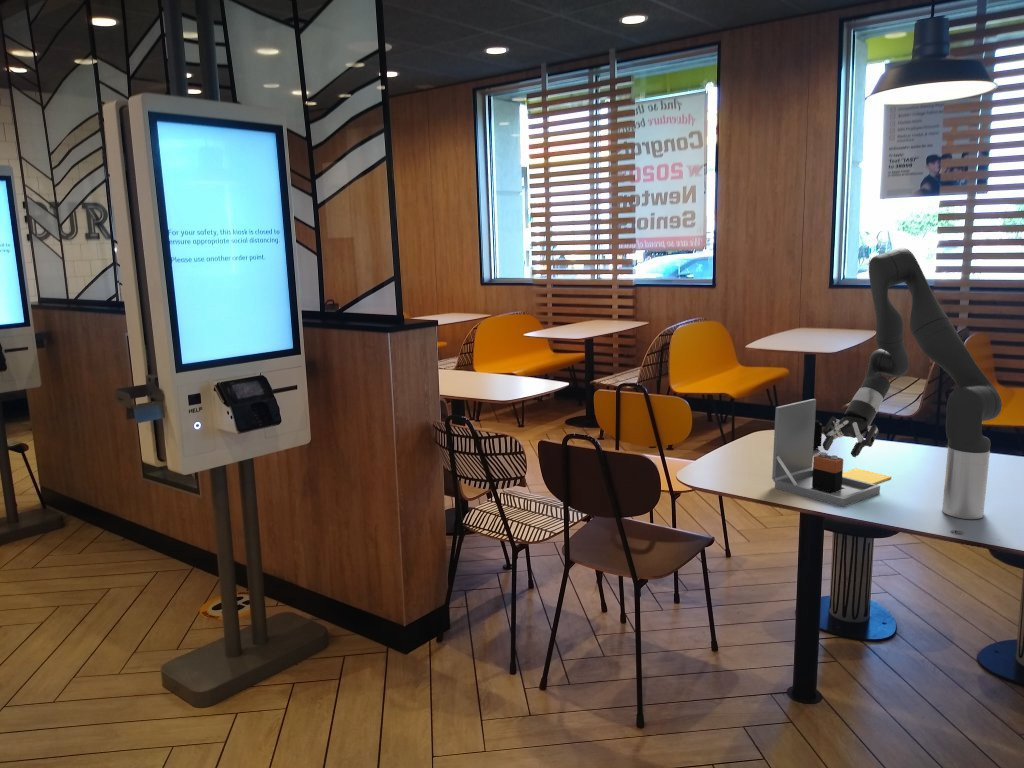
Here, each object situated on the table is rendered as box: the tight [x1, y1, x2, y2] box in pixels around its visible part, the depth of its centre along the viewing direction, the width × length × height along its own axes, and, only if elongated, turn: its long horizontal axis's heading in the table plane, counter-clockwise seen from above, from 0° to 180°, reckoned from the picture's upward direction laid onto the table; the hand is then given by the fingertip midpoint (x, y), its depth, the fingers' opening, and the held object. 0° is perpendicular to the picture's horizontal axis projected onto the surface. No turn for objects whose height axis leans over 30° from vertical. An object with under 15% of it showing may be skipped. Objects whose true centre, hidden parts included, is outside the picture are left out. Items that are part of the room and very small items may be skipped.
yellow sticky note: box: [842, 467, 892, 485], centre depth 234 cm, size 11×11×1 cm
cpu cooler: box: [813, 419, 823, 450], centre depth 266 cm, size 10×6×10 cm, turn 82°
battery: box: [812, 451, 844, 493], centre depth 222 cm, size 4×7×10 cm, turn 39°
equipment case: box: [771, 398, 881, 508], centre depth 221 cm, size 18×22×23 cm
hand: (838, 452), depth 224 cm, fingers open, 8 cm apart
